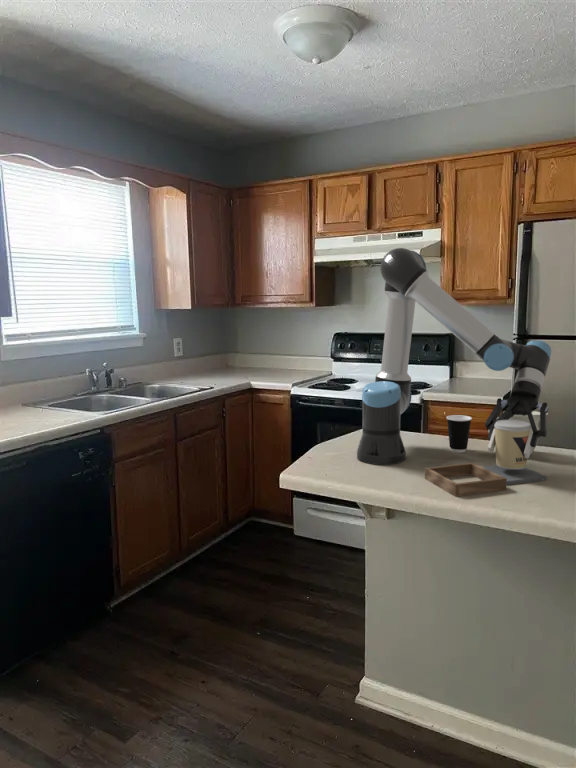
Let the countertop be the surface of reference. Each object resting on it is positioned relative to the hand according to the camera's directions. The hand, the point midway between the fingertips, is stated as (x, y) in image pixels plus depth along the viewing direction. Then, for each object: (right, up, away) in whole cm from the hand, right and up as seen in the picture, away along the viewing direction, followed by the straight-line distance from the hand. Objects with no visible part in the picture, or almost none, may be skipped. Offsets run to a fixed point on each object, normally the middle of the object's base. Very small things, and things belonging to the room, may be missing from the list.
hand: (507, 452), depth 152 cm
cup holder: (-13, -8, -3) cm, 15 cm away
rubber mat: (+2, -7, +4) cm, 8 cm away
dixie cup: (-4, -3, +30) cm, 30 cm away
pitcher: (+12, -3, +25) cm, 28 cm away
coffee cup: (+2, -4, +3) cm, 6 cm away
